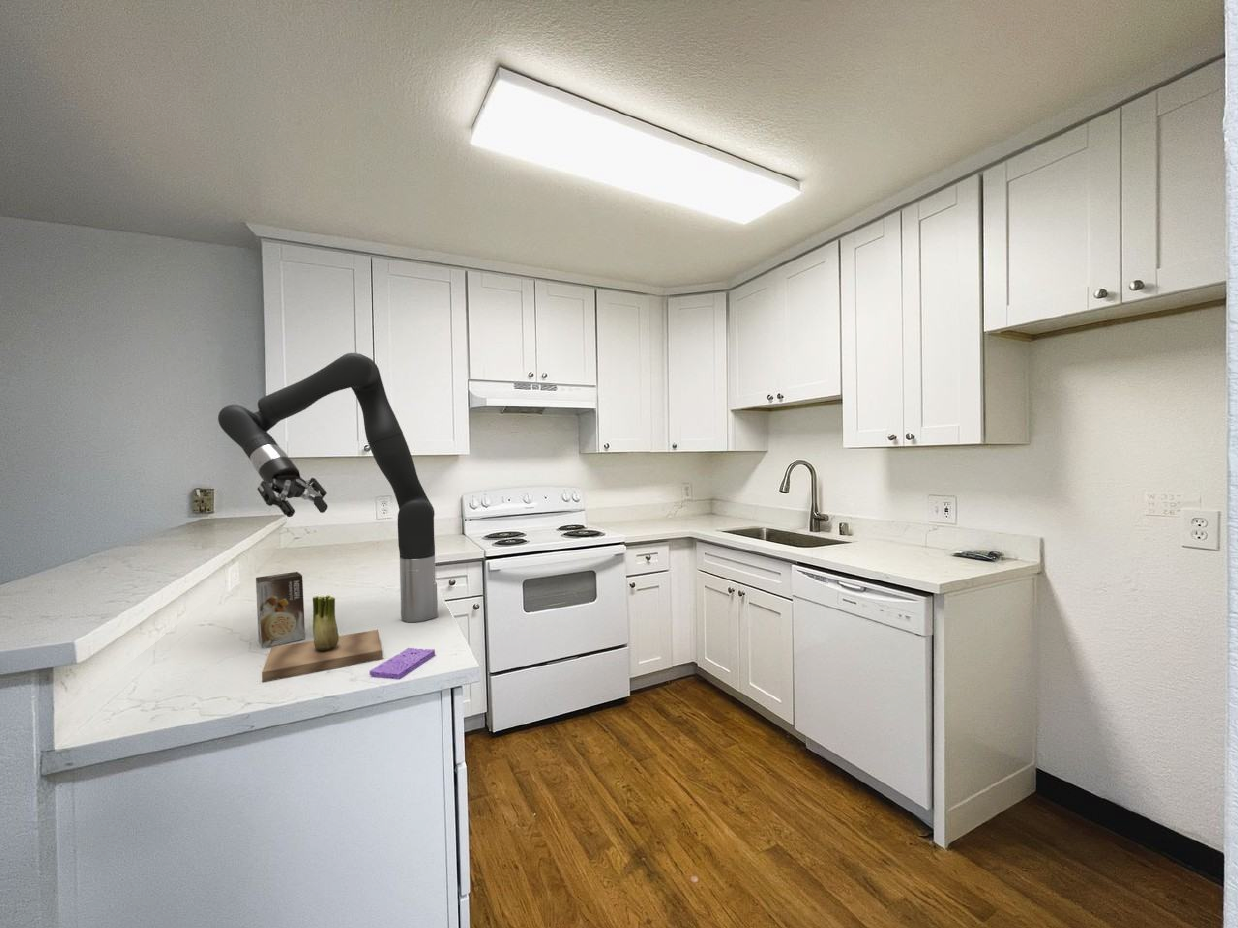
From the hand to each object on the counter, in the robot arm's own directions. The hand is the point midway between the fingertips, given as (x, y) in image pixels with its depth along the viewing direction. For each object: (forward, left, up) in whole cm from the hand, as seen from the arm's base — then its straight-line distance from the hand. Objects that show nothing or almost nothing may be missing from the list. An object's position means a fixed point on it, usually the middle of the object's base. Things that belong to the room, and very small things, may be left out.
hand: (309, 512), depth 122 cm
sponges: (-18, +27, -33) cm, 46 cm away
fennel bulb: (-3, +13, -30) cm, 33 cm away
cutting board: (-3, +14, -32) cm, 35 cm away
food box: (+7, -5, -32) cm, 33 cm away
